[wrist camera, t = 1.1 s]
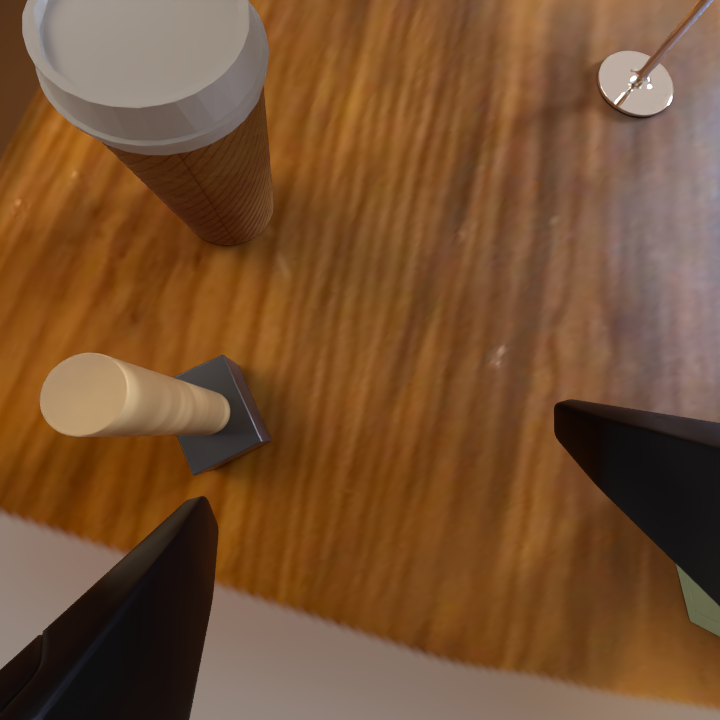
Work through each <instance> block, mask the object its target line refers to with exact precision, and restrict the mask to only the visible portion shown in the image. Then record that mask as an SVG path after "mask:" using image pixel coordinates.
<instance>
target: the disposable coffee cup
mask: <svg viewBox="0 0 720 720" xmlns="http://www.w3.org/2000/svg"><path fill="white" fill-rule="evenodd" d="M22 17H23V18H22V19H23V21H22V22H23V23H22V24H23V37H24V41H25V44H26V48H27V51H28V53H29V55H30V56H31V58H32V60H33V62H34V64H35V65H36V72H37V75H38V78H39V81H40V84H41V87H42V90H43V91H44V93H45V95H46V97H47V99H48V100H49V101H50V103H51V104H52V105H53V106H54V107H55V109H56V110H57V111H58V112H59V113H60V114H61V115H63V116H64V117H65V118H66V119H67V120H68V121H69V122H70V123H72V124H73V125H74V126H75V127H76V128H78V129H79V130H81V131H83V132H85V133H87V134H89V135H90V136H92V137H94V138H96V139H97V140H99V141H101V142H102V143H103V144H104V145H105V146H107V148H108V149H109V150H111V151H112V152H113V153H114V154H115V155H116V156H117V157H118V158H119V159H120V160H121V161H122V162H123V163H124V164H125V165H126V166H127V167H128V168H129V169H130V170H131V171H133V173H134V174H135V175H136V176H137V177H139V178H140V179H141V181H142V182H143V183H145V184H146V185H147V186H148V187H149V188H150V189H151V190H152V191H153V192H154V193H155V194H156V195H157V196H158V197H159V198H160V199H161V200H162V201H163V202H164V203H165V204H166V205H167V206H168V207H169V208H171V209H172V211H173V212H175V213H176V214H177V216H179V217H180V218H181V219H182V220H183V221H184V222H185V223H186V224H187V225H188V226H189V227H190V228H191V229H192V230H193V231H194V232H195V233H196V234H197V235H198V236H199V237H201V238H203V239H204V240H206V241H209V242H212V243H215V244H220V245H235V244H239V243H244V242H246V241H249V240H251V239H252V238H254V237H256V236H257V235H258V234H260V233H261V232H262V231H263V230H264V229H265V227H266V226H267V225H268V223H269V221H270V219H271V216H272V214H273V209H274V200H273V190H272V179H271V166H270V154H269V143H268V133H267V119H266V109H265V98H264V81H265V78H266V73H267V69H268V55H269V48H268V39H267V36H266V32H265V29H264V25H263V23H262V21H261V19H260V17H259V15H258V13H257V11H256V10H255V9H254V7H253V6H252V5H251V4H250V3H249V1H248V0H28V1H27V3H26V6H25V9H24V12H23V15H22Z"/></svg>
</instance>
